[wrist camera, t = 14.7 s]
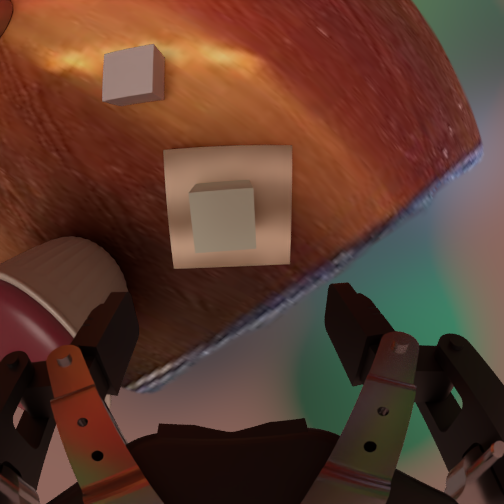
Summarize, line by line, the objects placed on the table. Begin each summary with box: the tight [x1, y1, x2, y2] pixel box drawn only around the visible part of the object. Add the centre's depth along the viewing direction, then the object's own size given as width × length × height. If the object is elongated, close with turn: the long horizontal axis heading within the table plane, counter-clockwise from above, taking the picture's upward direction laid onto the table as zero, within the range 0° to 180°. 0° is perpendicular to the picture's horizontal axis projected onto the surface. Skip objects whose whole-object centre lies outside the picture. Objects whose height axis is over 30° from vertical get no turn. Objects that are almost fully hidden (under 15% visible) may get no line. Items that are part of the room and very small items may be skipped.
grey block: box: [102, 44, 165, 106], centre depth 23 cm, size 5×5×5 cm
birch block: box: [163, 145, 292, 269], centre depth 29 cm, size 12×12×4 cm
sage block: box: [189, 180, 256, 253], centre depth 25 cm, size 5×5×5 cm
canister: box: [0, 236, 128, 410], centre depth 23 cm, size 18×18×21 cm
